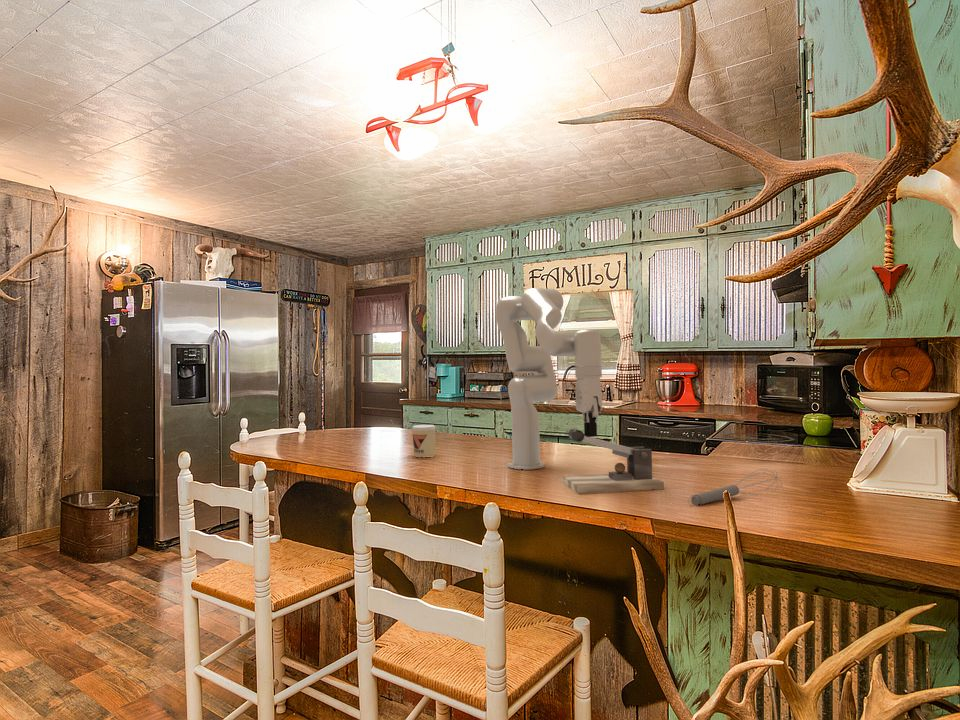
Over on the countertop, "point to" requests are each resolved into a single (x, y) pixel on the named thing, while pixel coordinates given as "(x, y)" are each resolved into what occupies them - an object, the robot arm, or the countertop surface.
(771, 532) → the countertop surface
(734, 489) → the kitchen whisk
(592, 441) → the nutcracker lever
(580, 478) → the nutcracker base
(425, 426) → the coffee cup
